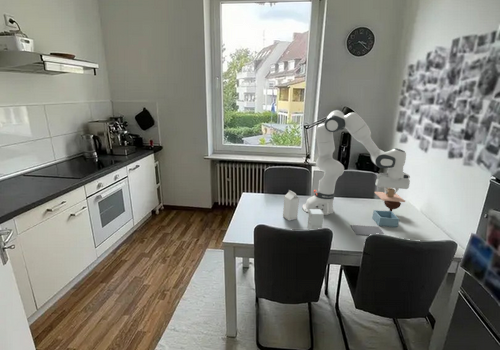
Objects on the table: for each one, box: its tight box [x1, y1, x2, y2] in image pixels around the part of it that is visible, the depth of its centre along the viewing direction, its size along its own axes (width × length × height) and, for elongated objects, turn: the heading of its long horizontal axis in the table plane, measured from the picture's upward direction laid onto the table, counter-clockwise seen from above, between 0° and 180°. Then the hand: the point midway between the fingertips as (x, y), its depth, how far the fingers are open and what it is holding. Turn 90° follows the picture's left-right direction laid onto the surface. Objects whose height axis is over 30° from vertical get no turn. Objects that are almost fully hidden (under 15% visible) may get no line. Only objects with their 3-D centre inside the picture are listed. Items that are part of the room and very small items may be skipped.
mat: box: [350, 224, 385, 237], centre depth 175 cm, size 18×12×1 cm, turn 87°
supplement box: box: [307, 209, 325, 230], centre depth 172 cm, size 7×7×13 cm
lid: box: [374, 188, 406, 203], centre depth 182 cm, size 14×14×6 cm
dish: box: [371, 209, 400, 228], centre depth 187 cm, size 12×12×6 cm
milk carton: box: [282, 189, 300, 221], centre depth 186 cm, size 7×7×19 cm
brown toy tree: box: [383, 201, 402, 212], centre depth 200 cm, size 11×11×15 cm
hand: (389, 193), depth 182 cm, fingers closed on lid, 3 cm apart
